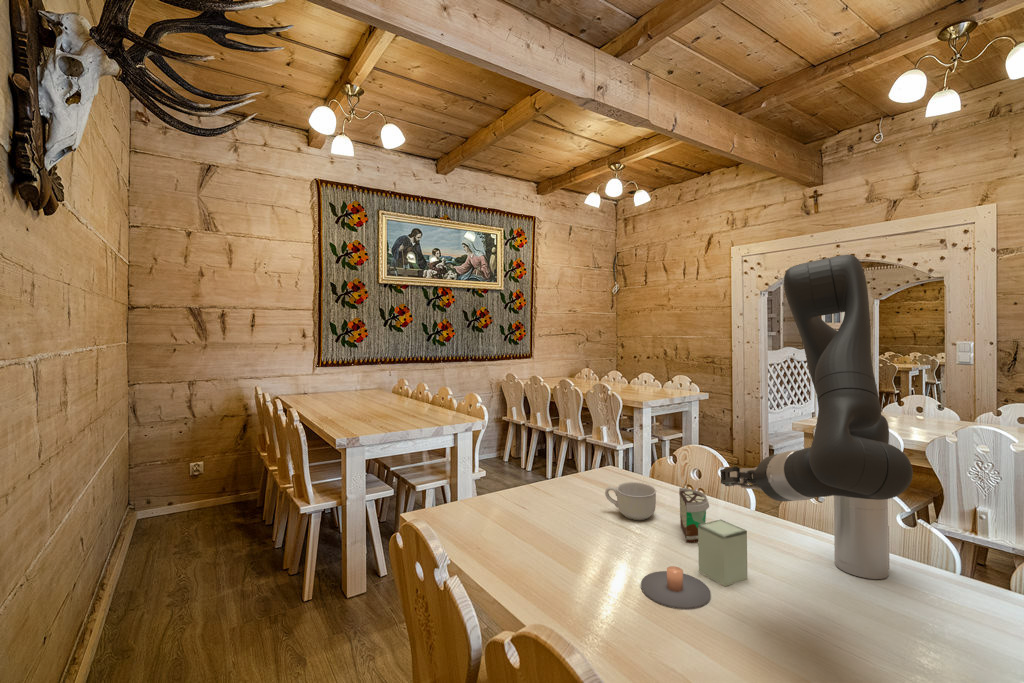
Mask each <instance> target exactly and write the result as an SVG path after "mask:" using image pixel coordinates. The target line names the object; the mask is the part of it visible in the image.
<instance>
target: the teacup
mask: <svg viewBox="0 0 1024 683" xmlns="http://www.w3.org/2000/svg"><path fill="white" fill-rule="evenodd" d="M610 491H613V493H615V497H616V499H613V497H612V496H611V495H610ZM604 492H605V493H604V496H605V498H606V500H608V501H609V502H610V503H611V504H614V506H615V507H616V508H618V510H619V512H620V513H621V514H622V515H623V516H624V517H626V519H630V520H632V519H633V521H644V520H647V519H648V518H650V517H651V516H653V514H654V513H655V511H656V508H657V507H656V506H657V502H656V501H657V489H656V488H655V487H654V486H653V485H650V484H648V483H644V482H640V481H639V482H638V481H628V482H627V481H625V482H622V483H619V484H618V485H617V486H616V487H615V486H613V485H610V486H609V485H608V487H606V489H605V491H604Z"/></svg>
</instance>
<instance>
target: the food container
mask: <svg viewBox="0 0 1024 683" xmlns="http://www.w3.org/2000/svg"><path fill="white" fill-rule="evenodd" d="M678 491H679V492H678V494H679V519H680V522H679V523H680V530H681V532H682V535H683V537H684V540H685V543H689V544H690V543H691V544H692V543H698V525H700V524H704V523H706V521H707V510H708V509H709V508H710V504H709V499H708V498H707V495H706V494H704V493H703V492H701V491H698V490H695V489H691V488H682V487H679V490H678Z"/></svg>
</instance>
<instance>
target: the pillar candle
mask: <svg viewBox="0 0 1024 683" xmlns="http://www.w3.org/2000/svg"><path fill="white" fill-rule="evenodd" d="M666 571H667V588H668V589H669V590H671V591H675V592H680V591H682V590H683V573H684V572H683V571H684V570H683V569H682V568H680V567H678V566H674V565H671V566H668V567H667V568H666Z"/></svg>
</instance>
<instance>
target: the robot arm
mask: <svg viewBox="0 0 1024 683" xmlns="http://www.w3.org/2000/svg"><path fill="white" fill-rule="evenodd" d="M783 288H784V289H783V290H784V294H785V296H786V301H787V302H788V303H787V304H788V307H789V309H790V311H791V314H792V317H793V320H794V323H795V324H796V325H795V326H796V327H797V330H798V333H799V335H800V338H801V341H802V345H803V349H804V350H803V351H804V353H805V354H804V355H805V358H806V359H805V360H806V363H807V368H808V371H809V374H810V375H809V376H810V378H811V382H812V385H813V388H814V390H815V394H816V398H817V399H816V400H817V401H816V402H817V408H818V411H817V419H816V426H815V430H814V434H813V438H812V442H811V446H810V447H805V448H802V449H801V448H800V449H797V450H796V449H795V450H787V451H784V452H781V453H777V454H773V455H769V456H767V457H765V458H763V459H762V460H761V461H760V462H759V463H758V465H757V466H754V467H753V468H752V467H750V468H749V467H744V468H741V467H738V466H732V467H727V468H722V469H719V470H720V484H721V485H724V486H725V487H735V486H736V487H737V486H740V487H741V488H743V489H745V490H746V489H748V490H749V489H751V490H758V491H762V492H763V493H764V494H765V496H768V497H769V498H770V499H772V500H775V501H777V502H784V503H785V502H795V501H796V502H798V501H799V502H800V501H807V500H808V501H809V500H813V499H815V498H824V497H832V496H833V525H834V527H833V530H834V531H833V532H834V536H833V537H834V542H833V543H834V544H833V545H834V547H833V548H834V565H835V566H836V567H837V568H838V569H840V570H841V571H843V572H845V573H847V574H849V575H850V574H851V575H852V576H856V577H859V578H864V579H869V580H882V579H883V580H884V579H886V578H888V577H889V574H890V573H889V570H890V526H889V500H890V499H893V498H896V497H898V496H900V495H901V494H903V493H904V492H905V491H906V490H907V489H908V488H909V487H910V485H911V483H912V480H913V476H914V470H913V466H912V463H911V460H910V459H909V458H908V456H907V455H906V453H904V451H902V450H901V449H899V447H898V448H897V446H894V445H893V444H889V443H890V428H889V422H888V420H887V418H886V417H885V415H882V408H881V403H880V397H879V392H878V387H877V383H876V380H875V379H876V377H875V373H874V368H873V367H874V366H873V360H872V341H871V340H872V337H871V335H872V334H871V330H872V328H871V316H870V315H871V314H870V301H869V300H870V299H869V291H868V285H867V279H866V274H865V271H864V267H863V265H862V263H861V261H860V260H859V258H857V256H855V255H853V254H841V255H836V256H832V257H831V256H830V257H825V258H821V259H816V260H812V261H807V262H802V263H799V264H796V265H793V266H790V267H789V268H788V269H786V271H785V273H784V276H783ZM840 313H844V316H843V320H842V321H841V324H840V325H839V328H838V329H835V328H833V327H832V326H830V325H828V323H826V322H825V321H824V320H823V319H822V318H821V316H827V315H835V314H840Z"/></svg>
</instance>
